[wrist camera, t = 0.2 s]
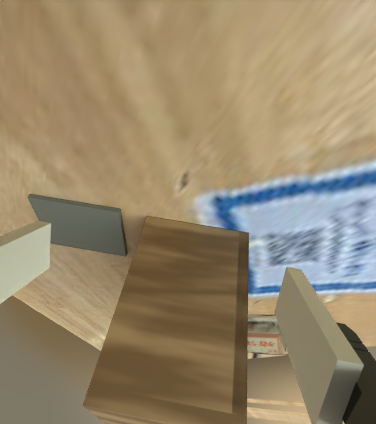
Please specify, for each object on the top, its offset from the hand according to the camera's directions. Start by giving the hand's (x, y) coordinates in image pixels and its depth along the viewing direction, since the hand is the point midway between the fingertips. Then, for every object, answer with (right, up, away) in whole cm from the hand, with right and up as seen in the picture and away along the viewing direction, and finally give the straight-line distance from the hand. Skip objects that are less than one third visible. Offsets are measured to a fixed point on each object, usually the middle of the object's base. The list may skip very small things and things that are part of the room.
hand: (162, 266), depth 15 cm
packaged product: (+13, -19, +41) cm, 47 cm away
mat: (-13, +1, +24) cm, 28 cm away
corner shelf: (+2, -4, +26) cm, 27 cm away
